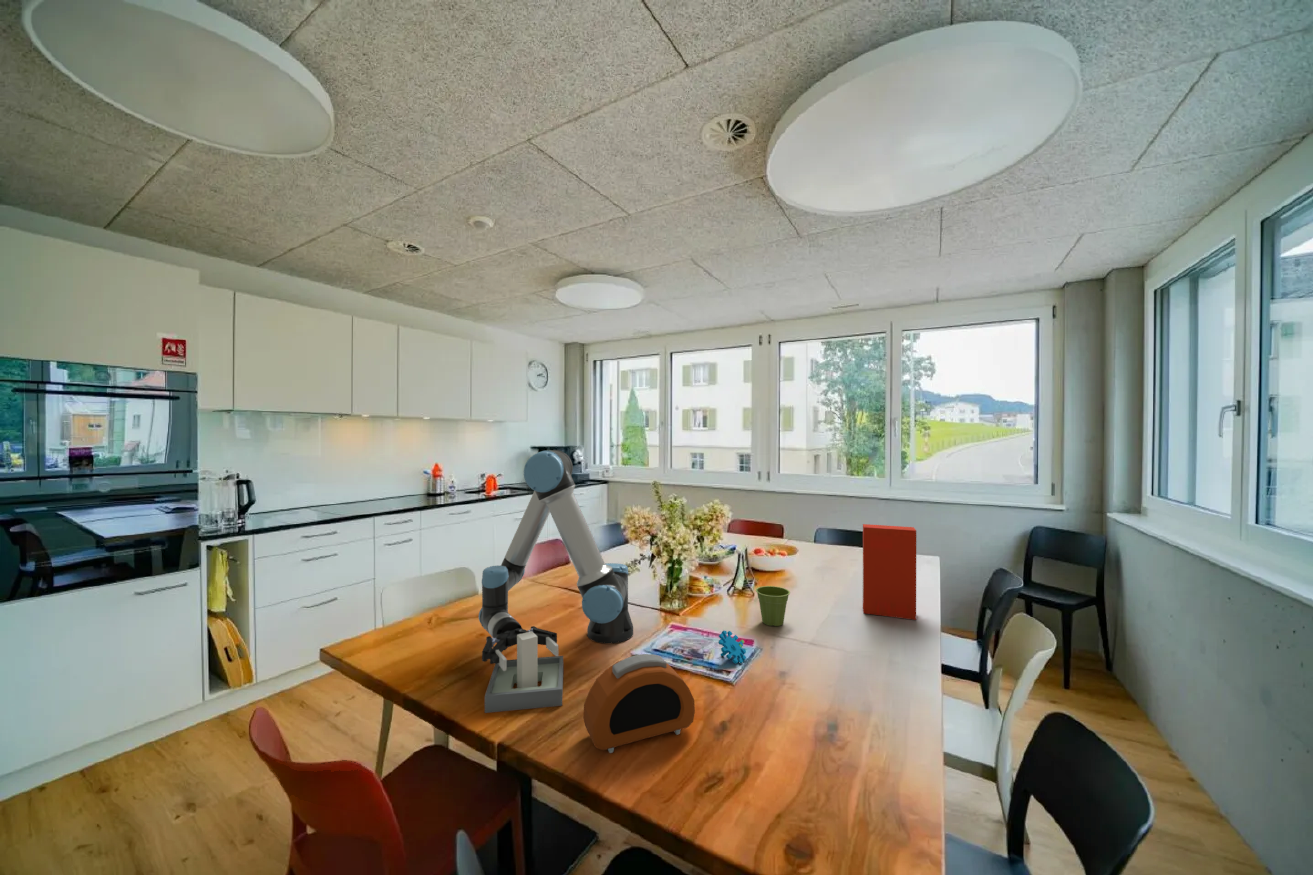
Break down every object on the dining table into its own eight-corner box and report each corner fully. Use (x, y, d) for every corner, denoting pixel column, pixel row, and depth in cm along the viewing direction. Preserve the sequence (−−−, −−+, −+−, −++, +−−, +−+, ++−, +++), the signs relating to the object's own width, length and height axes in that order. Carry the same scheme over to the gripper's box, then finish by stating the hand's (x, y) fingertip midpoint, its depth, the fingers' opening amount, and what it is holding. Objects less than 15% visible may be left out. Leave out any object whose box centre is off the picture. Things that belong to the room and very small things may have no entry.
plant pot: (794, 620, 171) (794, 589, 171) (783, 632, 161) (784, 598, 161) (762, 614, 177) (762, 583, 177) (750, 624, 167) (750, 592, 167)
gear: (733, 664, 134) (715, 631, 140) (720, 675, 137) (703, 642, 142) (755, 657, 142) (737, 626, 148) (742, 667, 145) (724, 636, 150)
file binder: (862, 606, 185) (862, 523, 185) (913, 612, 179) (913, 526, 178) (863, 613, 177) (863, 527, 177) (916, 620, 171) (916, 530, 171)
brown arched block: (593, 760, 97) (593, 677, 97) (582, 734, 105) (582, 659, 105) (696, 731, 107) (696, 656, 107) (678, 710, 115) (678, 640, 115)
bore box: (563, 669, 135) (563, 655, 135) (562, 705, 117) (562, 689, 117) (496, 675, 131) (496, 660, 131) (484, 712, 114) (484, 695, 114)
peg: (531, 683, 127) (531, 631, 127) (537, 690, 124) (537, 636, 124) (516, 688, 125) (517, 634, 125) (522, 695, 121) (522, 640, 121)
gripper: (546, 632, 146) (576, 659, 129) (459, 653, 132) (481, 687, 114) (546, 607, 146) (576, 631, 129) (459, 626, 132) (481, 655, 114)
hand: (532, 657), depth 121 cm, fingers open, 13 cm apart
